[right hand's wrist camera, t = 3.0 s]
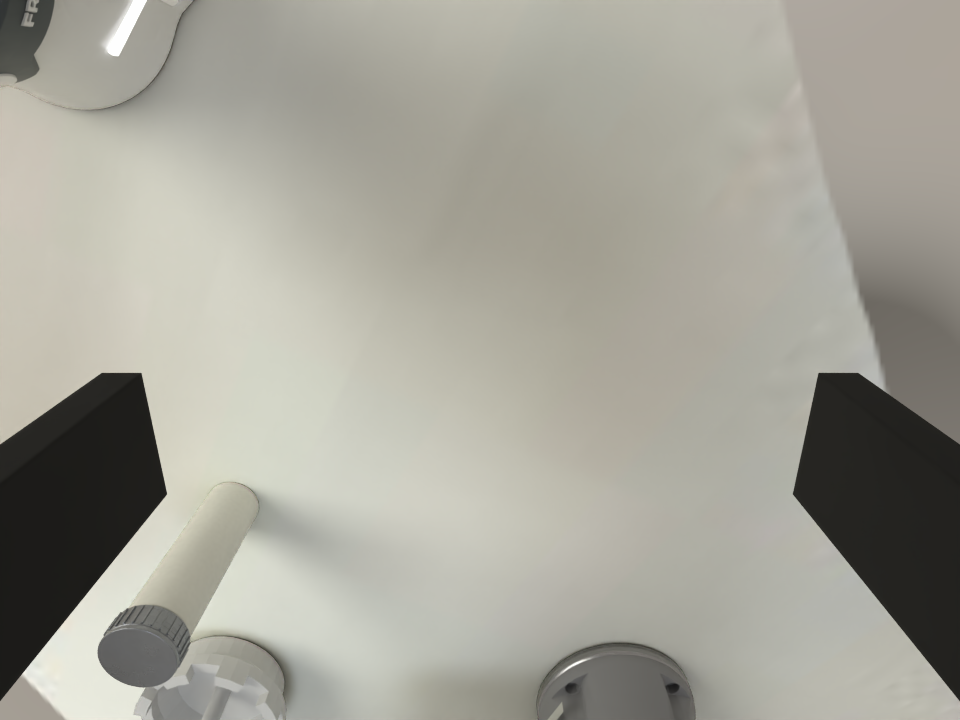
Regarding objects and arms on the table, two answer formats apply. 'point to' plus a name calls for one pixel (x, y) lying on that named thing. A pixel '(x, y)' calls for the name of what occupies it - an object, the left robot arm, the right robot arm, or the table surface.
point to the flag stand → (219, 685)
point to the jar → (201, 554)
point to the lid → (144, 646)
